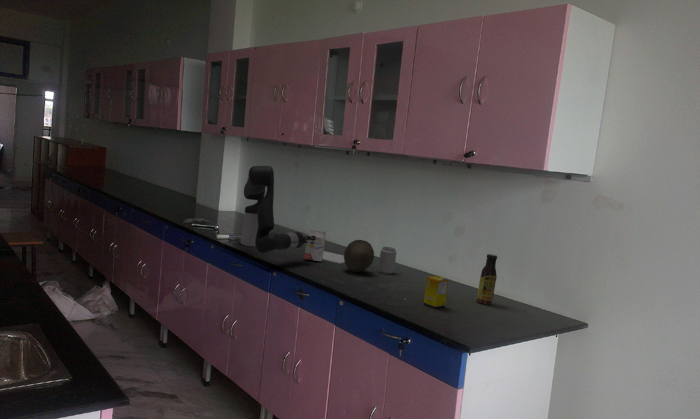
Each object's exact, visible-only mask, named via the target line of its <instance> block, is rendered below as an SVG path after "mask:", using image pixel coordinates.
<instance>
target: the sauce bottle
mask: <svg viewBox="0 0 700 419" xmlns="http://www.w3.org/2000/svg"><path fill="white" fill-rule="evenodd" d="M497 260H498V255H497V254H492V253H487V255H486V261H485V266H483V268H482V269H481V273H480V277H479V284H478V288H477V289H478V290H477V294H476V302H477V303H479V304H482V305H487V306H488V305H492V304H493V303H492V302H494V294H495V287H496V283H497V269H496V264H497Z"/></svg>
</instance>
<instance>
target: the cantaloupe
mask: <svg viewBox="0 0 700 419" xmlns="http://www.w3.org/2000/svg"><path fill="white" fill-rule="evenodd" d="M343 256H344V261H345V263H344V264H345V266H346V268H347V269H348V270H349V271H351V272H353V273H361V272H363V271H365V270H367V269H368V268H369V267H371V265H372V264H373V262H374V259H375V251H374V249H373V246H372V244H371V242H368V241H367V240H363V239H355V240H353V241H351V242H349V244H348V245H347V246H346V248H345V250H344V253H343Z"/></svg>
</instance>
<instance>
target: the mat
mask: <svg viewBox="0 0 700 419" xmlns="http://www.w3.org/2000/svg"><path fill="white" fill-rule="evenodd" d="M303 256H305V253H304V254H303ZM322 261H326V262H329V263H330V262H331V263H335V264H338V265H339V264H340V265H342V264H345V261H344V254H343V255H342V254H338V253H336V252H335V253H334V252H330V251H326V250H324V252H323V259H322Z"/></svg>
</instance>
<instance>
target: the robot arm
mask: <svg viewBox="0 0 700 419" xmlns="http://www.w3.org/2000/svg"><path fill="white" fill-rule="evenodd" d="M274 191H275V173H274V168H273V167H272V166H271V165H254V166H251V167H250V168H249V171H248V178H247V180H246V183H245V184H244V187H243V195H244V198H245V199H247V200H253V201H257V202H255V203H253V204H251V205H247V206H246V207H245V208H244V216H243V225H242V226H241V232H240V242H239V243H240V244H241V245H242V246H245V247H255V248H256V250H257V252H259V253H261V254H265V253H268V252H271V251H275V250H279V251H280V250H292V249H299V248H301V247H302V246H303V245H306V243H309V242H310V243H311V244H314V240H315V238H316V236H313V235H311V236H308V235H306V234H302V232H300V231H290V232H289V231H288V232H285V233H270V232H271V231H273V230H274V228H275V218H274V199H275V198H274V196H275V195H274V194H275V192H274Z"/></svg>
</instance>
